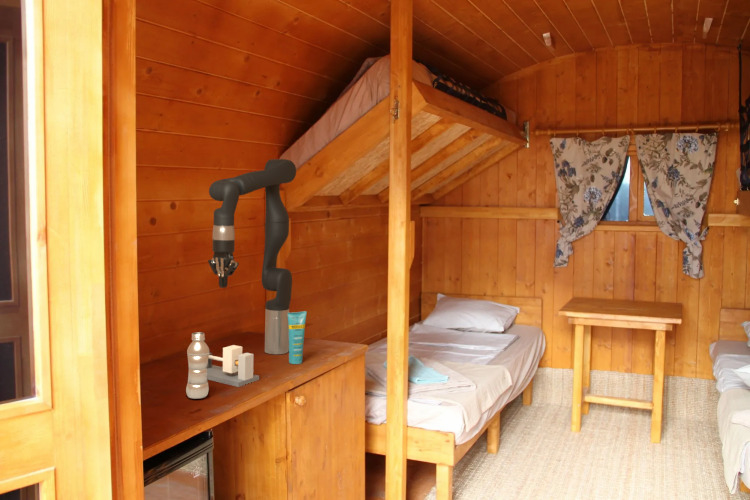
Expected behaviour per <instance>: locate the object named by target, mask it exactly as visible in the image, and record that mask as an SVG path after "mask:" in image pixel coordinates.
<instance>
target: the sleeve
mask: <svg viewBox="0 0 750 500" xmlns="http://www.w3.org/2000/svg"><path fill="white" fill-rule="evenodd" d="M240 354H243V346H241V345H235V344H232V345H228V346H226V347H222V358H223V362H222V367H223V372H228V373H234V372H238V365H235V361H238V355H240Z"/></svg>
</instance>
